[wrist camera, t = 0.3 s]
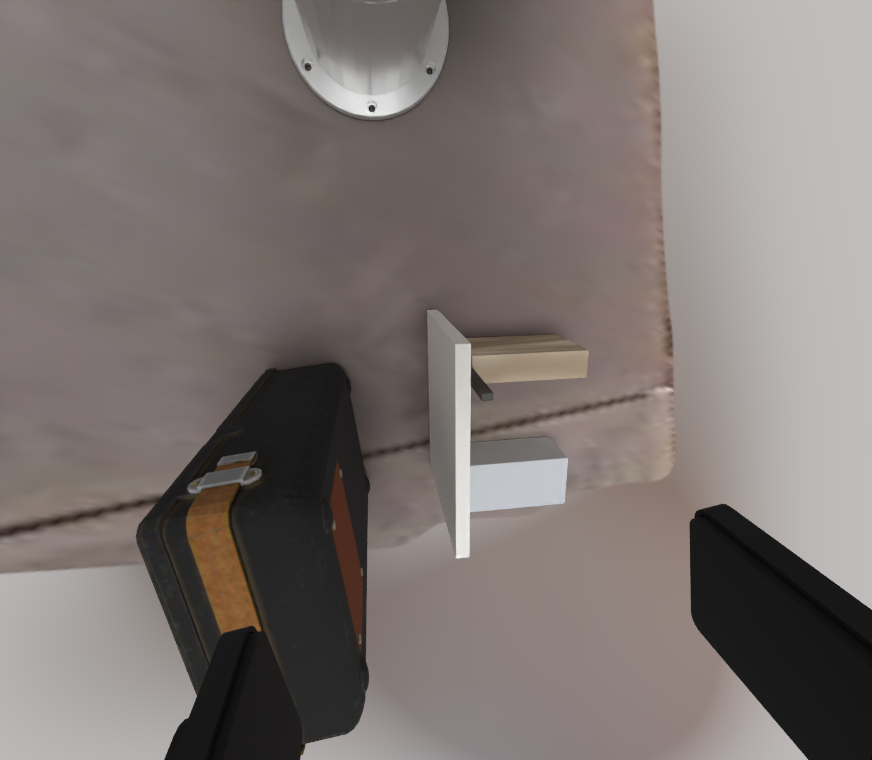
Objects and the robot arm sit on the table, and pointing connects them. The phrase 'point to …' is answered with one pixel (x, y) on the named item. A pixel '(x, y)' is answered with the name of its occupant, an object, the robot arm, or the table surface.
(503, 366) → the tall beige wooden block
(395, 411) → the table surface
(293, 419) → the voltmeter
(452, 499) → the white board with blocks
